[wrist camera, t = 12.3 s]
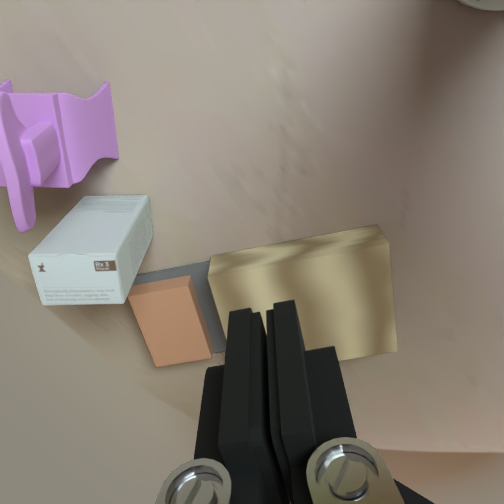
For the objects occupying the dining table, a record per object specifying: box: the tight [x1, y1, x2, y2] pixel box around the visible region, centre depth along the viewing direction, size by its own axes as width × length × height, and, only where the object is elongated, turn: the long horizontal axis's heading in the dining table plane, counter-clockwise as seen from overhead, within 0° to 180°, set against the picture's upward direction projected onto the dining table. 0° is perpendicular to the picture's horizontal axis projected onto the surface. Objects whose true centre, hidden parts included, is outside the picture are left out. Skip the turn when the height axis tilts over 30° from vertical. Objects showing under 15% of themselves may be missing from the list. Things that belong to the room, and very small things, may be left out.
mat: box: [129, 261, 227, 353], centre depth 46 cm, size 9×11×1 cm
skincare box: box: [28, 195, 153, 306], centre depth 36 cm, size 6×4×12 cm
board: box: [208, 225, 398, 361], centre depth 43 cm, size 16×12×4 cm
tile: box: [128, 275, 213, 367], centre depth 45 cm, size 6×9×2 cm, turn 12°
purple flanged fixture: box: [0, 80, 119, 233], centre depth 31 cm, size 8×9×15 cm
